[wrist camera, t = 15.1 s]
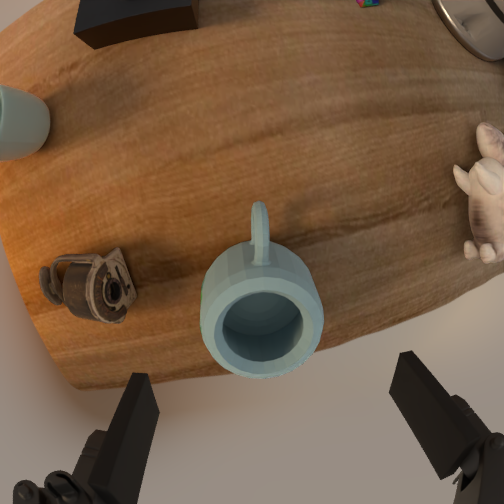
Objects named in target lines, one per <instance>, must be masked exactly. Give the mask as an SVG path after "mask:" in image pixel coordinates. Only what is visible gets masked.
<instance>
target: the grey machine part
mask: <svg viewBox="0 0 504 504" xmlns="http://www.w3.org/2000/svg"><path fill="white" fill-rule="evenodd" d="M66 261H71V262H72V263H71V264H70V265H69V267H68V268H67V270H66V272H65V276H64V279H63V288H62V286H61V283H60V281H59V279H58V276H57V271H56V269H57V265H58V263H59V262H66ZM39 283H40V287H41V290H42V292H43V294H44V296H45V297H46V298H47V299H48V300H49V301H50V302H52V303H53V304H55V305H61V303H62V302H63V303H64V304H65V305H66V306H67V307H68V309H69V310H70V312H71V313H72V314H74V315H75V316H76V317H79V318H83V319H89V320H94V321H100V322H104V323H116V324H120V323H121V322H123V321H124V319H125V315H126V313H127V309H128V308H129V307H130V305H131V304H132V303H133V301H134V300H135V299H136V297H137V294H136V291H135V289H134V286H133V283H132V281H131V278H130V275H129V272H128V270H127V267H126V264H125V261H124V259H123V256H122V253H121V251H120V249H119V248H118V247H117V248H114V249H113V250H112V251H111V252H110V253H109V254H107V255H106V256H102V257H100V256H99V255H98V254H66V255H62V256H59V257H57V258H56V259H55V260H54V261H53V263H52V265H51V268H49V267H46V266H44V267H42V268H41V269H40V272H39Z"/></svg>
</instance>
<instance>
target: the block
mask: <svg viewBox="0 0 504 504" xmlns="http://www.w3.org/2000/svg"><path fill="white" fill-rule="evenodd" d="M356 1H357V2H358V4H359V5H360V7H367V6H374V5H378V4H379V0H356Z"/></svg>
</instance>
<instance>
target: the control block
mask: <svg viewBox="0 0 504 504" xmlns="http://www.w3.org/2000/svg"><path fill="white" fill-rule="evenodd" d="M198 7H199V0H80V4H79V8H78V13H77V18H76V23H75V28H74V33H73V34H74V35H76V36H77V37H78V38H80V39H81V40H82V41H84V42H85V43H86V44H88V45H89V46H90V47H92V48H93V49H98V48H101V47H104V46H108V45H112V44H116V43H119V42H123V41H128V40H132V39H136V38H141V37H146V36H151V35H157V34H162V33H168V32H175V31H182V30H190V29H198Z"/></svg>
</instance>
